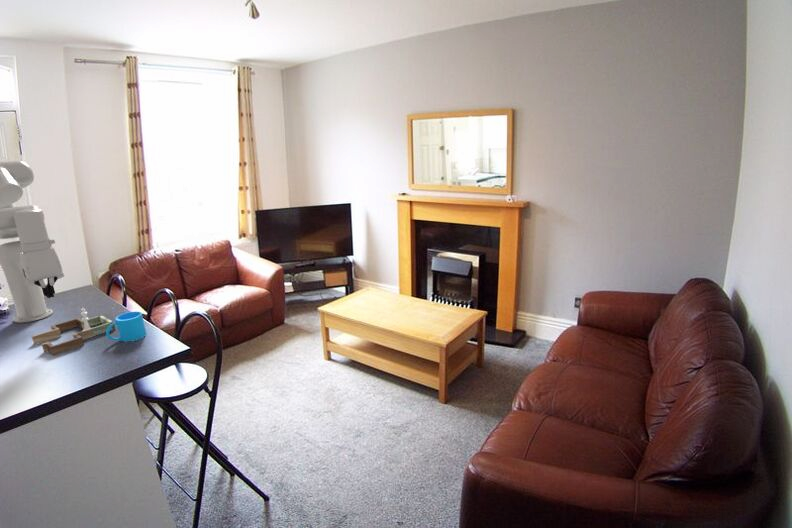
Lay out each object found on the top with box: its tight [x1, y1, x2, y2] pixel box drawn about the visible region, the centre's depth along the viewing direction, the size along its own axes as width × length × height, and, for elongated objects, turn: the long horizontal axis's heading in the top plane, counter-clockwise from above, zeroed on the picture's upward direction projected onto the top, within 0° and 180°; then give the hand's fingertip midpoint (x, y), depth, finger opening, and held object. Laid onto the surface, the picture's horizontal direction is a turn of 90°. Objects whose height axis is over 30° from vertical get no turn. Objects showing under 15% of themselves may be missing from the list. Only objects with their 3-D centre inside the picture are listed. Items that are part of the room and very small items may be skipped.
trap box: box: [31, 314, 116, 356], centre depth 160 cm, size 22×22×3 cm
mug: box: [105, 311, 147, 342], centre depth 156 cm, size 12×8×8 cm
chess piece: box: [80, 307, 91, 331], centre depth 162 cm, size 5×5×10 cm
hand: (50, 296), depth 153 cm, fingers closed
